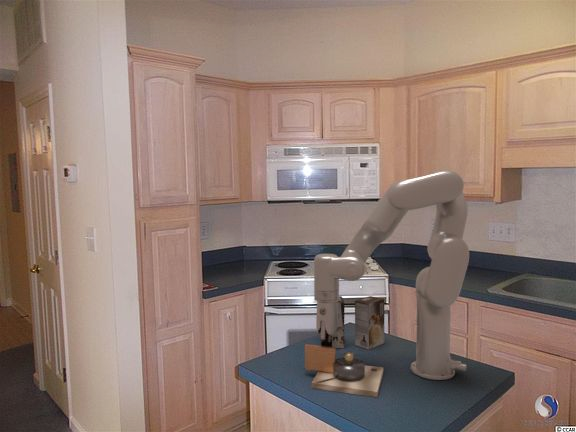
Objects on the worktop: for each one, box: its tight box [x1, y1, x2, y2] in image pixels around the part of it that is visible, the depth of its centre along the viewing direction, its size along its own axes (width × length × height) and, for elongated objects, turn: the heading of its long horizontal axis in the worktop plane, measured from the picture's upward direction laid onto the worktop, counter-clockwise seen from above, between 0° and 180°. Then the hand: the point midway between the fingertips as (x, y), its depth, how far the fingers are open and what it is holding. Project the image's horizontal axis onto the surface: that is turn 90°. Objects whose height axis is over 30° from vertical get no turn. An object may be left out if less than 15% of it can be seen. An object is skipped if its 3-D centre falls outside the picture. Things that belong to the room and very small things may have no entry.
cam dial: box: [304, 343, 366, 381], centre depth 128 cm, size 18×9×7 cm, turn 72°
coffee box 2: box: [354, 295, 385, 350], centre depth 154 cm, size 9×6×16 cm
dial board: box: [311, 364, 384, 398], centre depth 127 cm, size 18×16×2 cm
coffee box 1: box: [332, 295, 346, 349], centre depth 155 cm, size 9×6×16 cm
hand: (326, 353), depth 135 cm, fingers closed
